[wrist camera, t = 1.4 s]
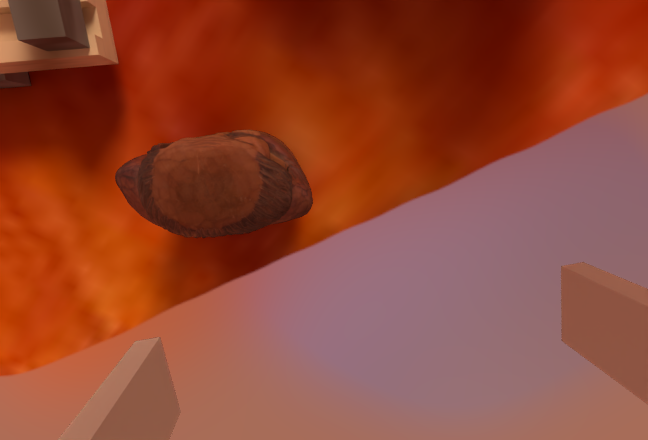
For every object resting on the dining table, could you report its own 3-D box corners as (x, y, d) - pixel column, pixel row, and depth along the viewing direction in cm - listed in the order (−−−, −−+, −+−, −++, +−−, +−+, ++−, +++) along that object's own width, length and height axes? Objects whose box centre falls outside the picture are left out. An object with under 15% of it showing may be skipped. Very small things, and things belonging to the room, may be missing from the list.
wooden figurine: (301, 127, 36) (311, 112, 18) (307, 193, 37) (322, 238, 19) (176, 138, 35) (59, 133, 17) (187, 204, 36) (89, 262, 19)
